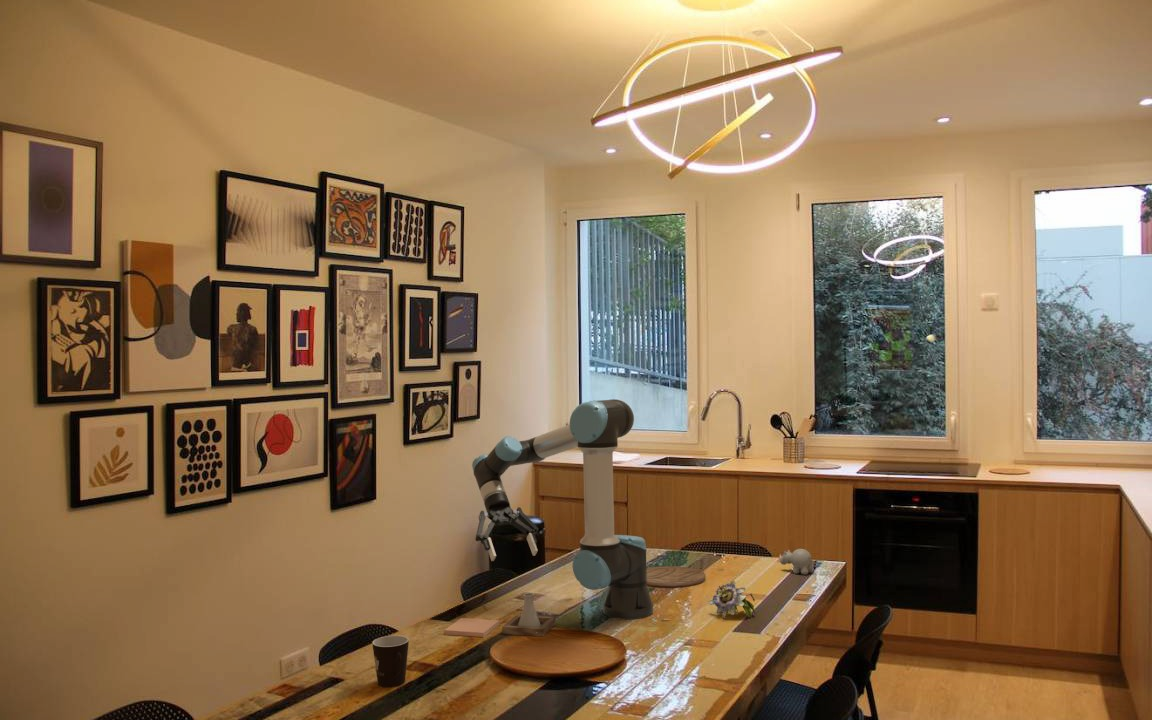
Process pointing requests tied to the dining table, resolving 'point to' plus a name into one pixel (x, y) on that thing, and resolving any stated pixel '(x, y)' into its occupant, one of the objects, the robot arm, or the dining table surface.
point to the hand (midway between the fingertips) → (514, 555)
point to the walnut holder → (530, 631)
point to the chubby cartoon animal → (798, 561)
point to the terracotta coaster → (471, 627)
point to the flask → (529, 612)
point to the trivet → (674, 577)
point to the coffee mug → (390, 660)
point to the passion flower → (731, 600)
